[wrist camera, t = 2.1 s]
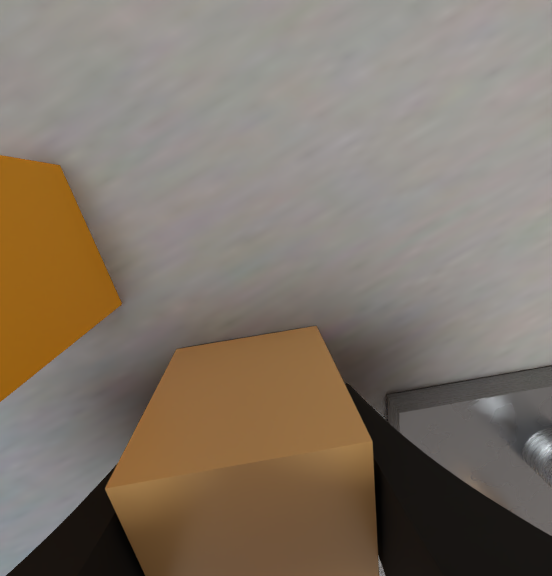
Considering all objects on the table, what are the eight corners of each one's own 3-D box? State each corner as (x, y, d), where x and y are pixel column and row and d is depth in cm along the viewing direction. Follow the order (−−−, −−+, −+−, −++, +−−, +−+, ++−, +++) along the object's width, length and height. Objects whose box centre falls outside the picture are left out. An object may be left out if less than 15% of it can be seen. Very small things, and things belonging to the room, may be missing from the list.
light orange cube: (328, 434, 12) (380, 599, 7) (207, 456, 11) (174, 639, 7) (316, 325, 10) (372, 440, 5) (176, 349, 10) (104, 488, 5)
